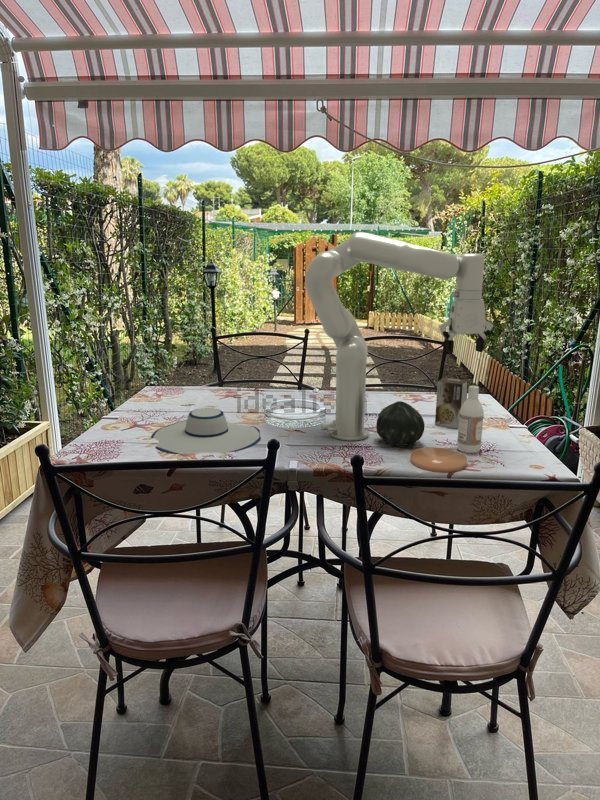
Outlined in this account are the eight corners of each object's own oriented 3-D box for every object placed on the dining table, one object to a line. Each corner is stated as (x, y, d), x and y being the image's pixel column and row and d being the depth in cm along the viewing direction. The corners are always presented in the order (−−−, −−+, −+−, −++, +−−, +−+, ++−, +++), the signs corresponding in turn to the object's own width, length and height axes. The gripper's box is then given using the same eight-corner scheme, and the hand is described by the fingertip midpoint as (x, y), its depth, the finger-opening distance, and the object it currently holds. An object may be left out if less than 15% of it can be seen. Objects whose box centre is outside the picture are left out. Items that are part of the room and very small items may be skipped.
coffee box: (465, 425, 195) (469, 380, 191) (459, 429, 190) (463, 383, 185) (440, 420, 200) (443, 377, 195) (433, 425, 194) (437, 380, 190)
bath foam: (472, 455, 166) (478, 390, 161) (452, 449, 171) (457, 386, 165) (484, 449, 170) (490, 386, 165) (464, 444, 175) (469, 382, 170)
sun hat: (136, 432, 187) (134, 407, 185) (232, 416, 206) (232, 393, 204) (173, 466, 158) (171, 436, 155) (282, 444, 176) (282, 416, 174)
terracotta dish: (425, 474, 151) (426, 469, 151) (401, 454, 166) (401, 449, 166) (477, 469, 155) (478, 464, 155) (449, 450, 170) (449, 445, 170)
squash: (409, 416, 186) (388, 387, 178) (440, 430, 173) (418, 399, 165) (382, 447, 184) (359, 419, 176) (411, 463, 171) (387, 434, 163)
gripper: (446, 297, 161) (443, 355, 166) (501, 296, 164) (496, 353, 169) (436, 295, 168) (433, 351, 173) (488, 294, 171) (484, 349, 176)
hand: (464, 352), depth 171 cm, fingers open, 9 cm apart
